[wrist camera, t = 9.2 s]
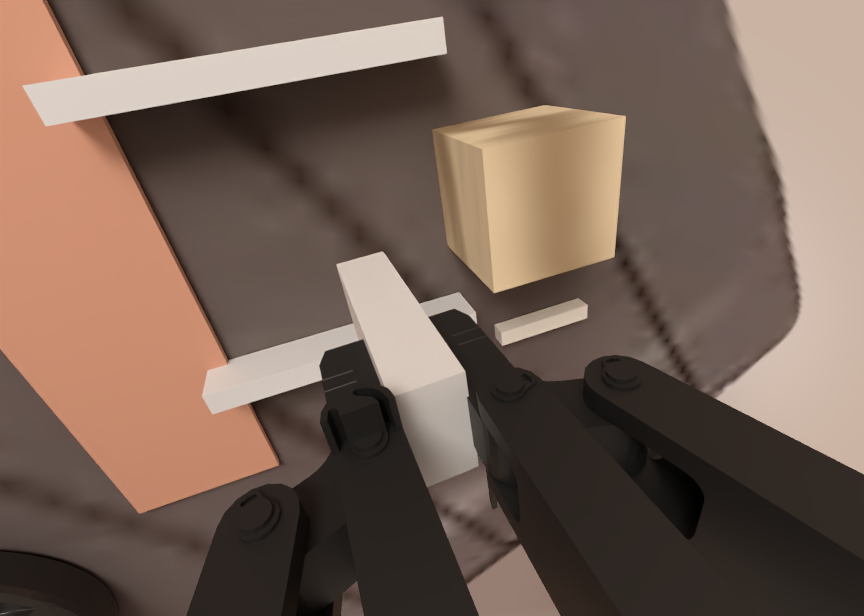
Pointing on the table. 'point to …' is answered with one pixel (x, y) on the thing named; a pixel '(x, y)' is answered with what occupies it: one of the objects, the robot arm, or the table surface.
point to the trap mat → (104, 293)
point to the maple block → (531, 191)
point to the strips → (540, 321)
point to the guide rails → (233, 74)
